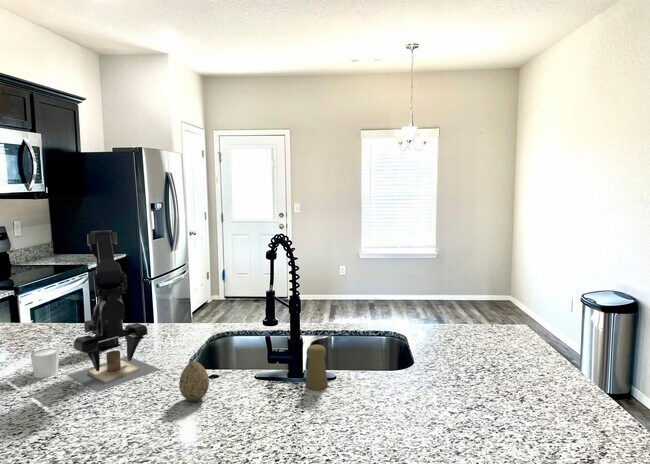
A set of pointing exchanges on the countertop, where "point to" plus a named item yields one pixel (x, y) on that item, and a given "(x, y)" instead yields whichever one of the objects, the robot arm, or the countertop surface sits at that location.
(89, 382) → the mat
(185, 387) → the decorative egg
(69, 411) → the countertop surface
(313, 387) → the cork
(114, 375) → the lid
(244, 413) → the countertop surface
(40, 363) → the white round cup
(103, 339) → the robot arm
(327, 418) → the countertop surface
